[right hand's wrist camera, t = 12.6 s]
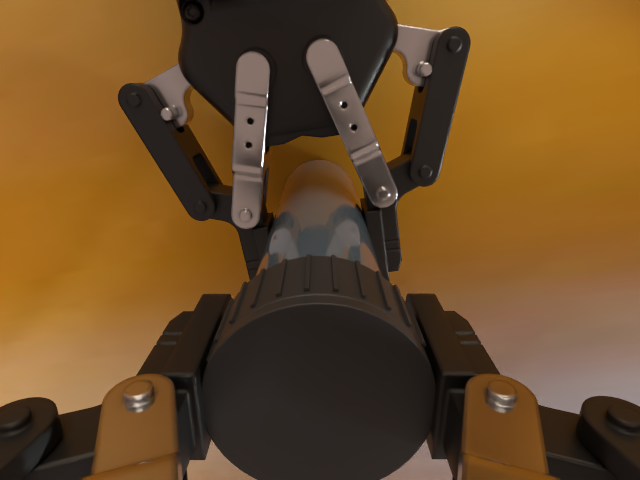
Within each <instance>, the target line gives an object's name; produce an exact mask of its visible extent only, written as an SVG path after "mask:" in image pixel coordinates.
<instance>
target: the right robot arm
mask: <svg viewBox="0 0 640 480" xmlns="http://www.w3.org/2000/svg"><path fill="white" fill-rule="evenodd" d="M231 298H232V297H231V295H230V294H203V295H202V297H201V299H200V300H199V302H198V304H197V306H196V308H195V310H194V311H183V312H182V313H181V314H179V315H178V316H177V317H175V318H174V319H172V320H171V321H170V322H169V323H168V325H167V327H166V328H165V330H164V332H163V335H161V336H160V338H159V340H158V341H157V345H155V346H154V348H153V349H152V351H151V353H150V354H149V356H148V357H147V359H146V361H145V362H144V364H143V366H142V367H141V369H140V370H139V372H138V374H137V375H136V376H134V377H131V378H128V379H126V380H124V381H122V382H120V383H119V384H117V385H116V386H114V387H113V388H112V389H111V390H110V391H109V392H108V393H107V394H106V395H105V397H104V399H103V402H102V404H101V405H98V406H95V407H91V408H88V409H83V410H79V411H74V412H70V413H65V414H61V415H59V414H58V410H57V407H56V405H55V403H54V402H53V401H51V400H50V399H47V398H41V397H33V398H26V399H21V400H17V401H14V402H11V403H9V404H6V405H4V406H2V407H0V480H188V476H187V466H188V464H189V461H190V460H205V458H206V455H207V452H208V448H209V445H210V442H211V437H210V435H209V433H208V431H207V428H206V421H205V413H204V404H203V396H202V387H201V383H202V378H203V374H204V371H205V369H206V366H207V363H206V359H207V357H208V354H209V352H210V349H211V347H212V344H213V340H214V338H215V336H216V333H217V331H218V328H219V326H220V323H221V321H222V318H223V316H224V313H225V311H226V308H227V306H228V304H229V301H230V299H231ZM407 302H409V304H410V306H411V308H412V311H413V313H414V316H415V318H416V321H417V323H418V326H419V328H420V331H421V333H422V336H423V338H424V341H425V343H426V346H425V347H424V349H425V351H426V354H427V356H428V359H429V362H430V364H431V368H432V371H433V374H434V377H435V381H436V389H435V398H434V407H433V415H432V424H431V430H430V432H429V434H428V436H427V438H426V440H427V444H428V447H429V450H430V454H431V457H432V459H447V460H448V463H449V466H450V469H451V472H452V475H453V476H452V480H640V407H639V406H637V405H635V404H633V403H630V402H628V401H625V400H622V399H619V398H614V397H608V396H595V397H591V398H588V399H587V400H585V401H584V402H583V404H582V407H581V411H580V415H579V414H575V413H570V412H566V411H561V410H557V409H552V408H548V407H544V406H541V405H538V402H537V399H536V397H535V395H534V394H533V393H532V392H531V391H530V390H529V389H528V388H527V387H526V386H524V385H523V384H521V383H520V382H518V381H516V380H514V379H512V378H509V377H506V376H502V375H500V373H499V371H498V370H497V368H496V367H495V365H494V363H493V362H492V360H491V358H490V357H489V355H488V353H487V352H486V350H485V348H484V347H483V345H481V342H480V340H479V339H478V337H477V335H475V332H474V330H473V329H472V327H471V325H470V324H469V322H468V321H467V320H466V319H464V318H463V317H462V316H460V315H459V314H458V313H456V312H455V311H444V310H443V308H442V306H441V305H440V303H439V301H438V299H437V297H436V295H435V294H407V296H406V302H405V303H407Z"/></svg>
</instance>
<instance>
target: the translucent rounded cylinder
mask: <svg viewBox="0 0 640 480" xmlns="http://www.w3.org/2000/svg"><path fill="white" fill-rule="evenodd" d="M307 254H311V256H331V255H336V257H337V258H343V259H347V260H350V261H354V262H355V261H356V260H357V261H360V264H361V265H364V266H366V267H368V268H370V269H372V270H373V271H375V272H376V271H377V270H378V271H380V272H381V270H380V267H379V264H378V260H377V257H376V254H375V251H374V248H373V245H372V242H371V238H370V235H369V232H368V229H367V226H366V223H365V220H364V216H363V213H362V210H361V207H360V204H359V201H358V198H357V194H356V191H355V188H354V185H353V182H352V180H351V178H350V176H349V175H348V173H347V172H346V171H345V170H344V169H343V168H342V167H341V166H339V165H337V164H335V163H333V162H331V161H327V160H312V161H308V162H305V163H303V164H301V165H300V166H298V167H297V168H296V169H295V170H294V171H293V172H292V173H291V174H290V176H289V177H288V179H287V182H286V184H285V187H284V190H283V193H282V196H281V199H280V203H279V206H278V209H277V212H276V215H275V218H274V221H273V224H272V227H271V230H270V233H269V236H268V239H267V242H266V246H265V249H264V252H263V255H262V258H261V261H260V264H259V267H258V270H257V273H256V276H257V275H258V274H260V270H261V269H263V268H265V270H266V269H268V268H270V267H272V266H274V265H276V264H278V263H281V262H282V260H283V259H287V260H291V259H295V258H300V257H306V255H307ZM381 275H382V273H381ZM382 277H383V276H382Z"/></svg>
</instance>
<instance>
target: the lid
mask: <svg viewBox="0 0 640 480" xmlns="http://www.w3.org/2000/svg"><path fill="white" fill-rule="evenodd" d="M425 346H426V343H425V341H424V338H423V336H422V333H421V331H420V328H419V326H418V323H417V321H416V318H415V316H414V313H413V311H412V308H411V306H410V304H409V302H407V303H405V301H404V299H403V298H402V296H401V294H400V291H399V289H398V287H397V286H396V285H394V286H393V285H392V284H391V283H390V282H389V281H388V280H386V279H385V278H384V277H382V275H381V272H380V271H378V270H377V271H376V272H375V271H373V270H372V269H370V268H368V267H366V266H364V265H361V264H360V261H357V260H356V261H355V262H354V261H350V260H347V259H343V258H337V257H336V255H331V256H311V254H307V255H306V257H300V258H295V259H291V260H287V259H283V260H282V262H281V263H278V264H276V265H274V266H272V267H270V268H268V269H266V270H265V268H263V269H261V270H260V274H258V275H257V276H255V277H254V278H253V279H252V280H250V281H249V282H248V283H247V282H244V283H243V285H242V287H241V290H240V292H239V293H238V294H237V296H236V297H235V299H232V298H231V299H230V301H229V304H228V306H227V308H226V311H225V313H224V316H223V318H222V321H221V323H220V326H219V328H218V331H217V333H216V336H215V338H214V340H213V344H212V347H211V349H210V352H209V354H208V357H207V359H206V363H207V366H206V369H205V371H204V374H203V378H202V383H201V387H202V396H203V404H204V413H205V421H206V428H207V431H208V433H209V435H210V437H211V439H212V440H213V442H214V444H215V445H216V446H217V448H218V449H219V450H220V451H221V453H222V454H223V455H224V456H225V457H226V458H227V459H228V460H229V461H230V462H231V463H232V464H234V465H235V466H236V467H238V468H239V469H240V470H242V471H243V472H245V473H246V474H248V475H250V476H251V477H253V478H255V479H257V480H380V479H382V478H384V477H386V476H388V475H390V474H391V473H393V472H394V471H396V470H397V469H399V468H400V467H401V466H402V465H404V464H405V463H406V462H407V461H408V460H409V459H410V458H411V457H412V456H413V455H414V454H415V453H416V452H417V451H418V450H419V448H420V447H421V445H422V444H423V442H424V441H425V440H426V438H427V436H428V434H429V432H430V430H431V424H432V415H433V407H434V398H435V389H436V381H435V377H434V374H433V371H432V368H431V364H430V362H429V359H428V356H427V354H426V351H425V349H424V347H425Z"/></svg>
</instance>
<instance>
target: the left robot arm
mask: <svg viewBox="0 0 640 480" xmlns="http://www.w3.org/2000/svg"><path fill="white" fill-rule="evenodd" d="M176 1H177V5H178V8H179V12H180V16H181V21H182V39H181V44H180V48H179V53H178V62H179V64H177V65H175V66H173V67H172V68H170V69H168V70H166V71H165V72H163V73H161V74H159V75H158V76H156V77H154V78H152V79H151V80H149V81H147V82H145V83H129V84H126V85H124V86H123V87H122V88H121V89H120V91H119V94H118V101H119V104H120V106H121V108H122V110H123V111H124V113H125V114H126V116H127V117H128V119H129V121H130V122H131V124H132V125H133V127H134V129H135V130H136V132H137V133H138V135H139V136H140V138H141V140H142V141H143V143H144V144H145V146H146V148H147V149H148V151H149V152H150V154H151V155H152V157H153V159H154V160H155V162H156V163H157V165H158V166H159V168H160V170H161V171H162V173H163V174H164V176H165V178H166V179H167V181H168V182H169V184H170V185H171V187H172V189H173V190H174V192H175V193H176V195H177V197H178V198H179V200H180V201H181V203H182V204H183V206H184V208H185V209H186V211H187V212H188V214H189V215H190V216H191V217H192V218H193V219H195V220H199V221H205V220H208V219H209V218H210V219H216V220H222V221H226V222H228V223H230V224H232V225H233V226H234V227H235V228H236V229H237V231H238V234H239V237H240V241H241V245H242V250H243V254H244V258H245V261H246V266H247V270H248V274H249V278H250V280H252V279H253V278H254V277H255V276H256V273H257V270H258V267H259V264H260V261H261V258H262V255H263V252H264V249H265V246H266V242H267V239H268V236H269V233H270V230H271V227H272V224H273V221H274V216H273V212H271V213H267V208H266V201H267V190H268V179H269V168H270V162H271V155H272V146H274V145H280V144H284V143H287V142H289V141H291V140H293V139H295V138H297V137H300V136H313V137H328V136H334V135H340V136H341V138H342V141H343V143H344V145H345V147H346V149H347V152H348V154H349V156H350V158H351V160H352V162H353V164H354V167H355V169H356V171H357V173H358V175H359V177H360V180H361V182H362V184H363V190H364V198H362V199H360V201H361V208H362V213H363V216H364V220H365V223H366V226H367V229H368V232H369V235H370V238H371V242H372V245H373V248H374V251H375V254H376V257H377V260H378V264H379V267H380V270H381V273H382V276H383V277H384V278H385V279H386V280H388V281H389V274H388V272H392V271H398V270H399V267H400V264H401V260H402V258H401V249H400V240H399V230H398V220H397V209H396V208H397V203H398V201H399V199H400V198H401V197H402V196H403V195H404V194H405V193H407V192H409V191H410V190H412V189H414V188H416V187H418V186H423V187H425V186H429V185H432V184H433V183H434V182H435V181H436V180H437V179H438V177H439V174H440V170H441V166H442V161H443V157H444V153H445V149H446V145H447V141H448V136H449V132H450V128H451V124H452V120H453V116H454V111H455V107H456V103H457V99H458V95H459V91H460V86H461V82H462V78H463V74H464V70H465V66H466V61H467V57H468V53H469V49H470V37H469V34H468V33H467V31H466V30H464V29H463V28H461V27H451V28H446V29H443V30H433V29H427V28H420V27H414V26H407V25H401V24H398V23H397V19H396V16H395V14H394V12H393V11H392V9H391V8H390V6H389V5H388V3H387V2H386V0H176ZM392 52H394V53H396V54H397V55H398V56H399V57H400V58H401V60H402V63H403V77H404V79H405V81H406V82H407V83H408V84H410V85H413V86H415V89H414V94H413V99H412V104H411V109H410V114H409V118H408V123H407V128H406V133H405V138H404V143H403V148H402V153H401V156H399V157H397V158H395V159H394V160H392V161H390V162H388V163H386V162H385V159H384V157H383V155H382V152H381V150H380V146H379V144H378V141H377V139H376V137H375V134H374V132H373V130H372V127H371V125H370V123H369V120H368V118H367V116H366V113H365V111H364V109H363V108H364V106H365V104H366V102H367V100H368V98H369V96H370V94H371V92H372V90H373V88H374V86H375V85H376V83H377V81H378V79H379V77H380V75H381V73H382V71H383V69H384V67H385V65H386V63H387V61H388V59H389V57H390V55H391V54H392ZM193 88H194V89H195V90H196V91H197V92H198V93H199V94H200V95H202V96H203V97H204V98H205V99H206V100H207V101H208V102H209V103H210V104H211V105H212V106H213V107H214V108H215V109H216V110H217V111H218V112H219V113H220V114H221V115H223V116H224V117H225V118H226V119H227V120H228V121H229V122H230V123H231V124H232V125H233V126H234V136H233V153H232V172H233V187H232V186H226V185H223V184H222V182H221V180H220V179H219V177H218V175H217V173H216V172H215V170H214V168H213V167H212V165H211V163H210V162H209V160H208V158H207V156H206V155H205V153H204V151H203V150H202V148H201V146H200V145H199V143H198V141H197V139H196V138H195V136H194V134H193V133H192V131H191V129H190V128H189V126H188V124H189V123H190V122H191V120H192V118H193V114H194V113H193V108H192V105H191V102H190V94H191V91H192V90H193Z"/></svg>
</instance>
